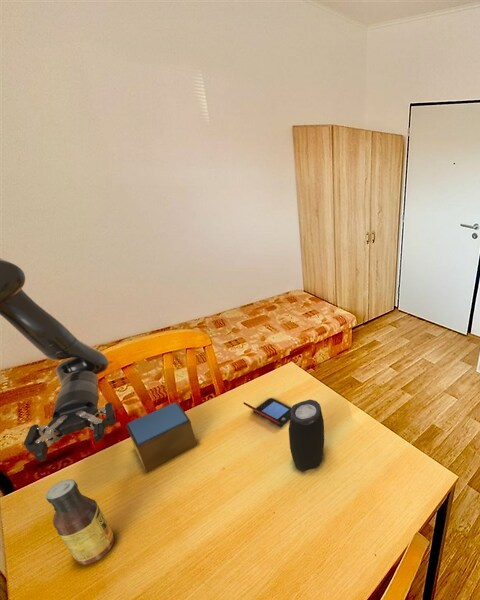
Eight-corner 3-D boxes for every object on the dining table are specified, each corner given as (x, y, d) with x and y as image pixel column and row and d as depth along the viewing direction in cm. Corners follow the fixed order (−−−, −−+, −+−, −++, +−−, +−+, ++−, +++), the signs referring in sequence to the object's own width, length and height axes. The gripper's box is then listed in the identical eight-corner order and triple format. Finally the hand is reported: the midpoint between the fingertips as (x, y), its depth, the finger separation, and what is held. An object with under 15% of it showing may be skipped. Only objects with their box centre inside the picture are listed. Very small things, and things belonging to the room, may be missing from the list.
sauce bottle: (122, 542, 69) (92, 483, 61) (86, 573, 64) (48, 512, 56) (104, 527, 72) (74, 468, 63) (69, 555, 67) (30, 495, 58)
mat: (138, 444, 80) (137, 443, 80) (128, 424, 85) (127, 423, 85) (187, 420, 88) (187, 419, 88) (175, 403, 93) (175, 402, 93)
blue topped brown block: (146, 473, 84) (136, 447, 80) (135, 450, 89) (125, 424, 85) (197, 446, 92) (190, 420, 88) (184, 426, 98) (177, 402, 94)
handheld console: (297, 413, 107) (296, 396, 104) (272, 435, 98) (270, 417, 95) (270, 399, 112) (268, 382, 108) (244, 419, 103) (241, 401, 100)
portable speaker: (285, 465, 89) (280, 413, 81) (308, 442, 97) (306, 392, 89) (308, 480, 86) (305, 428, 78) (330, 455, 93) (330, 405, 85)
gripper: (29, 401, 73) (12, 452, 62) (110, 380, 81) (108, 421, 70) (42, 425, 76) (28, 477, 65) (119, 402, 84) (118, 444, 73)
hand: (70, 448), depth 67 cm, fingers open, 8 cm apart
